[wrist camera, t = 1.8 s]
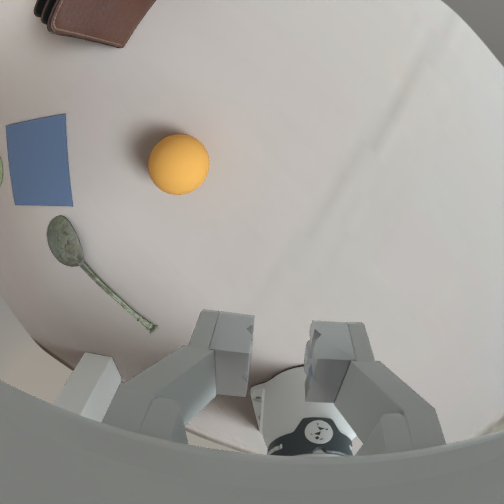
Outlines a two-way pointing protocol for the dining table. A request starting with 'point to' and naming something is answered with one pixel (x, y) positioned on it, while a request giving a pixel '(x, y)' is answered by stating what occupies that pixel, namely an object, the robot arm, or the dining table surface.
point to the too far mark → (1, 171)
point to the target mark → (39, 162)
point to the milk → (90, 387)
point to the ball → (178, 164)
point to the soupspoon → (79, 258)
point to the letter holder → (93, 18)
